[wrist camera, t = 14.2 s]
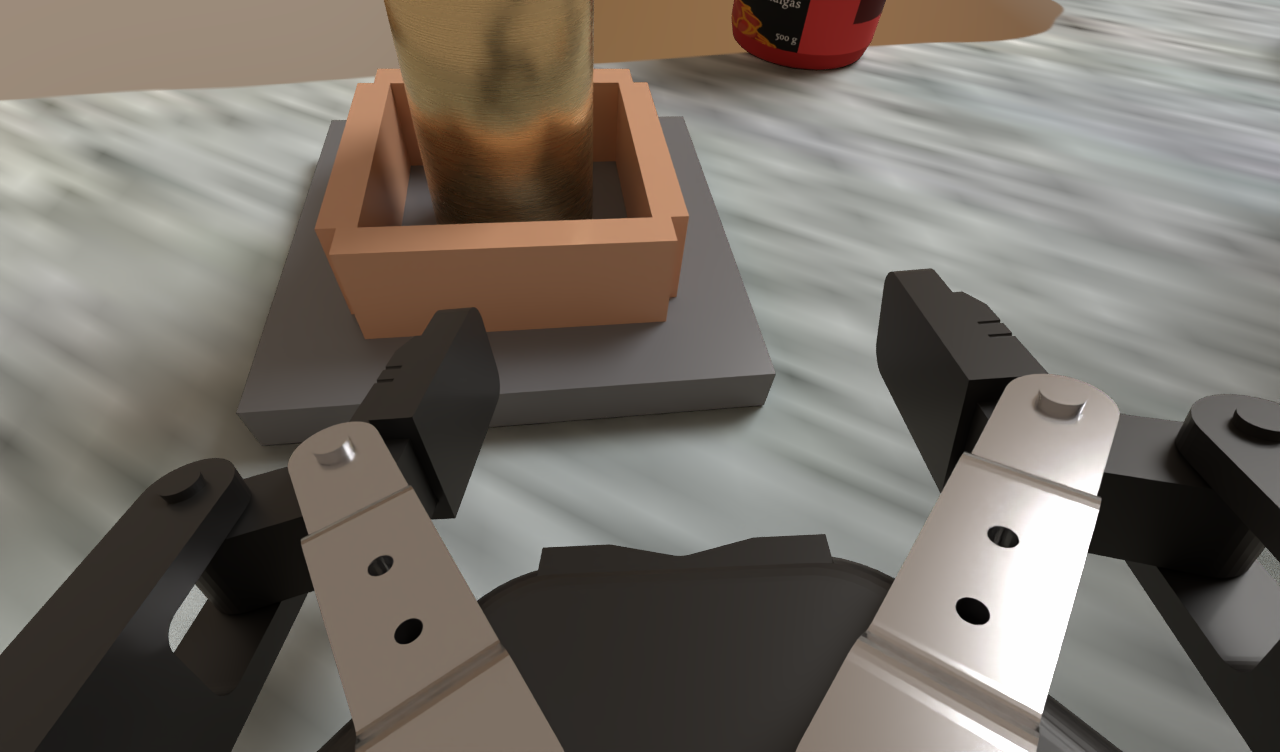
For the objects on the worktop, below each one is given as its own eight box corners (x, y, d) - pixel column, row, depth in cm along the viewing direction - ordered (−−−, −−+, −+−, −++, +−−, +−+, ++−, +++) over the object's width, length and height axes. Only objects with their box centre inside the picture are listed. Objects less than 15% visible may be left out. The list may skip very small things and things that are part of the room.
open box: (678, 148, 27) (692, 41, 23) (763, 405, 18) (805, 295, 15) (343, 155, 25) (303, 38, 21) (261, 445, 16) (171, 330, 13)
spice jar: (598, 174, 22) (605, -314, 13) (616, 285, 19) (643, -284, 9) (431, 177, 22) (312, -340, 12) (416, 294, 18) (229, -318, 9)
